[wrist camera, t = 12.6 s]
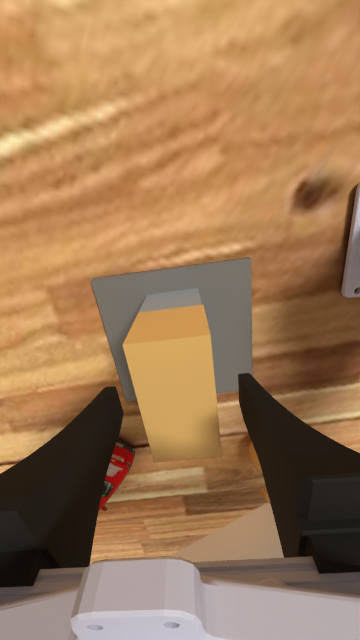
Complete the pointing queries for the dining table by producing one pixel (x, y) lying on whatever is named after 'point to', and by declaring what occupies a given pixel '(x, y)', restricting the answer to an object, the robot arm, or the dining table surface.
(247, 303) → the mat
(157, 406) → the ochre brick
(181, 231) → the dining table surface
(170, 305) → the slate brick
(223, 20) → the dining table surface
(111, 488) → the race car
